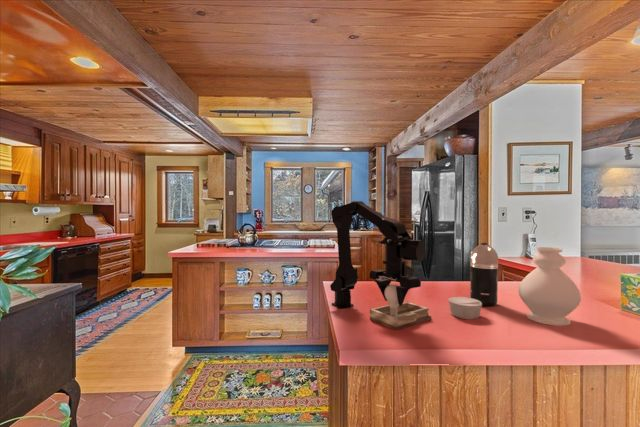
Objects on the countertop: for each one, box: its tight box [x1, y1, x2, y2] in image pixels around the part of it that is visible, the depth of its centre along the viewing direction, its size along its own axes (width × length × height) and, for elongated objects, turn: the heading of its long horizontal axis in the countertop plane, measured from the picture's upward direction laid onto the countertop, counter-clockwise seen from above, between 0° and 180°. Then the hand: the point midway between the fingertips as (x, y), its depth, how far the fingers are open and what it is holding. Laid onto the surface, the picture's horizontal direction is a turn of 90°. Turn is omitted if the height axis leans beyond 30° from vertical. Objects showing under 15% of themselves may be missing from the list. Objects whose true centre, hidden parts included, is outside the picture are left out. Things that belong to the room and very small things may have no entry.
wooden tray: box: [369, 301, 432, 331], centre depth 113 cm, size 12×18×4 cm, turn 124°
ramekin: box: [448, 296, 483, 320], centre depth 117 cm, size 11×11×5 cm
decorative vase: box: [518, 246, 582, 327], centre depth 113 cm, size 18×18×25 cm
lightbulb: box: [384, 283, 399, 316], centre depth 111 cm, size 6×6×11 cm
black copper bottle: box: [469, 242, 499, 307], centre depth 132 cm, size 10×10×25 cm
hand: (393, 303), depth 111 cm, fingers closed on lightbulb, 6 cm apart
